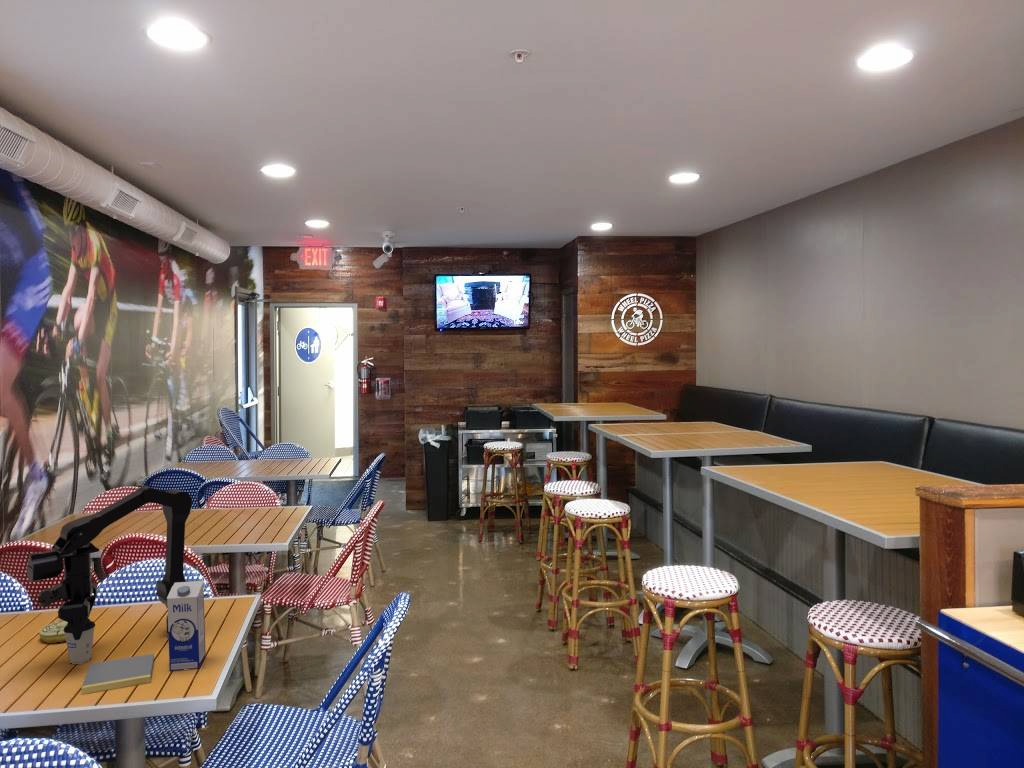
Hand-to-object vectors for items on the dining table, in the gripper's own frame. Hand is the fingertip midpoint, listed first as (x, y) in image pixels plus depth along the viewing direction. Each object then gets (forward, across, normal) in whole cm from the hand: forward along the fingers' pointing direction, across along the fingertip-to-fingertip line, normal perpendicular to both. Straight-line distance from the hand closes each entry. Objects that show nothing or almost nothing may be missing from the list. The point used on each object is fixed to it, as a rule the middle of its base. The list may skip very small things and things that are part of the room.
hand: (80, 633), depth 179 cm
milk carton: (+7, +14, +25) cm, 29 cm away
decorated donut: (+8, -20, -7) cm, 22 cm away
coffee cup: (+7, 0, 0) cm, 7 cm away
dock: (+7, +14, +10) cm, 19 cm away
